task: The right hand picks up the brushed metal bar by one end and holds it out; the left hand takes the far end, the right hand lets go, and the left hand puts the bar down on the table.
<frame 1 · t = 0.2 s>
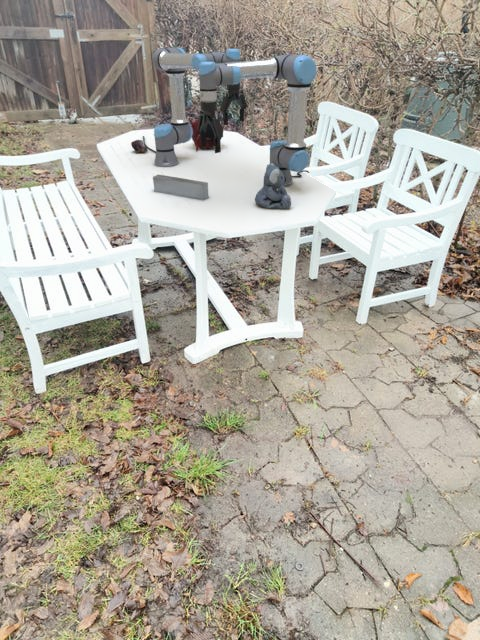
left hand: (233, 123, 259), 29 cm above the table, tool pointing down, fingers open, 13 cm apart
right hand: (210, 149, 216), 27 cm above the table, tool pointing down, fingers open, 13 cm apart
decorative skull: (207, 147, 330), on the table
bar: (181, 194, 245), on the table
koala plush: (271, 204, 231), on the table
rock: (139, 152, 319), on the table
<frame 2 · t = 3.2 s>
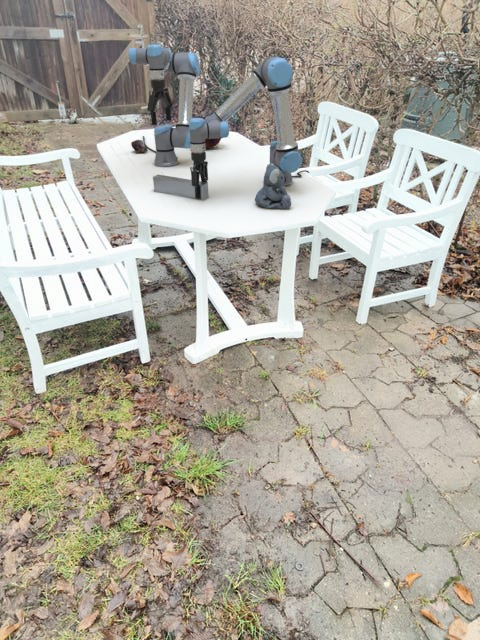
left hand: (161, 122, 247), 32 cm above the table, tool pointing down, fingers open, 13 cm apart
right hand: (200, 196, 240), 1 cm above the table, tool pointing down, fingers closed on bar, 5 cm apart
bar: (181, 194, 245), on the table, touching right hand
everything else where it was.
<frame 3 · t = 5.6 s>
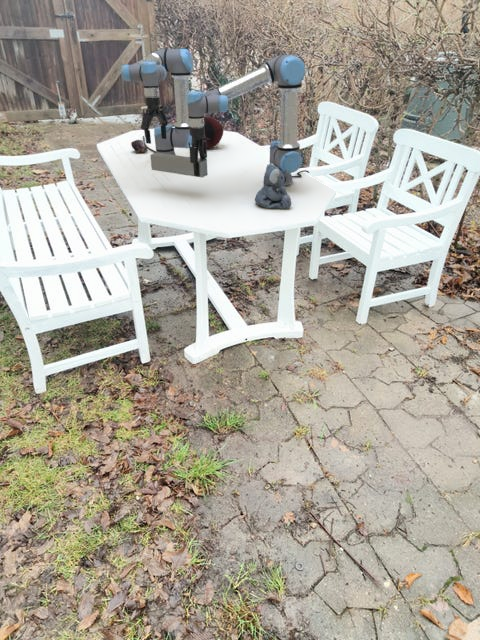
left hand: (156, 141, 239), 25 cm above the table, tool pointing down, fingers open, 13 cm apart
right hand: (199, 174, 233), 12 cm above the table, tool pointing down, fingers closed on bar, 5 cm apart
bar: (179, 172, 239), point 12 cm above the table, touching right hand
everything else where it was.
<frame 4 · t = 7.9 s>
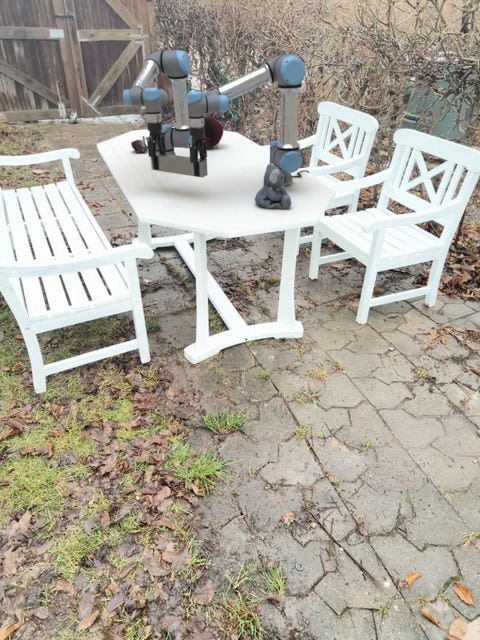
left hand: (159, 168, 243), 12 cm above the table, tool pointing down, fingers closed on bar, 5 cm apart
right hand: (199, 174, 233), 12 cm above the table, tool pointing down, fingers closed on bar, 5 cm apart
bar: (179, 172, 239), point 12 cm above the table, touching left hand, right hand
everything else where it was.
when the right hand's fingers open (12 cm above the table, at t = 8.5 s): bar stays where it is, held by the left hand.
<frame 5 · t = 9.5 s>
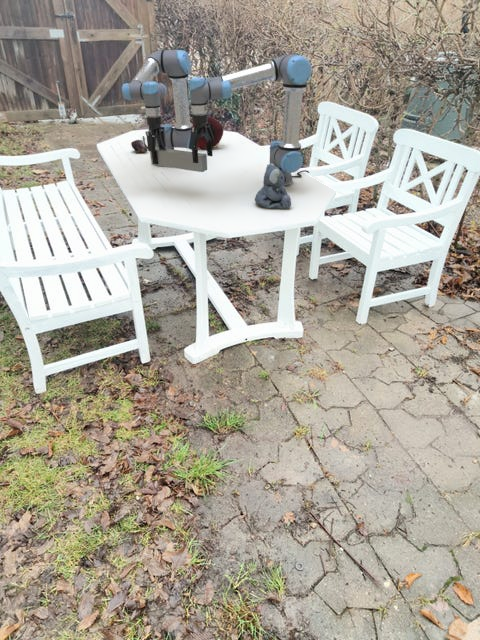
left hand: (158, 162, 242), 15 cm above the table, tool pointing down, fingers closed on bar, 5 cm apart
right hand: (203, 159, 228), 20 cm above the table, tool pointing down, fingers open, 13 cm apart
bar: (178, 167, 237), point 15 cm above the table, touching left hand
everything else where it was.
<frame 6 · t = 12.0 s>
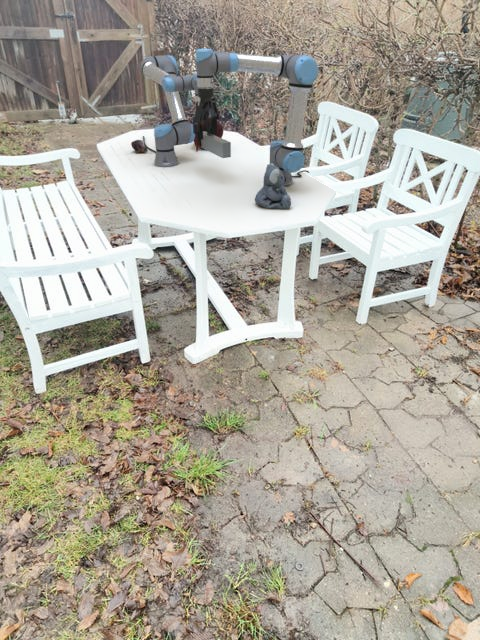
left hand: (204, 145, 272), 15 cm above the table, tool pointing down, fingers closed on bar, 5 cm apart
right hand: (207, 136, 220), 32 cm above the table, tool pointing down, fingers open, 13 cm apart
bar: (213, 151, 263), point 15 cm above the table, touching left hand
everything else where it was.
when the left hand's fingers open (2 cm above the table, at t = 16.2 s): bar drops 2 cm, on the table.
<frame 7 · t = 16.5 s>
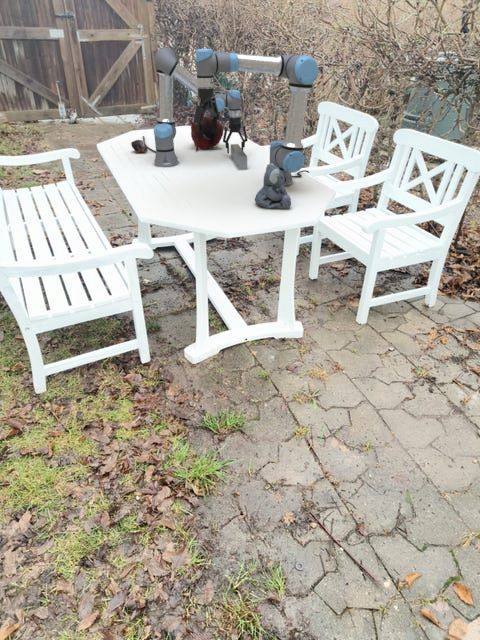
left hand: (235, 152, 304), 3 cm above the table, tool pointing down, fingers open, 9 cm apart
right hand: (207, 136, 220), 32 cm above the table, tool pointing down, fingers open, 13 cm apart
bar: (238, 162, 296), on the table
everything else where it was.
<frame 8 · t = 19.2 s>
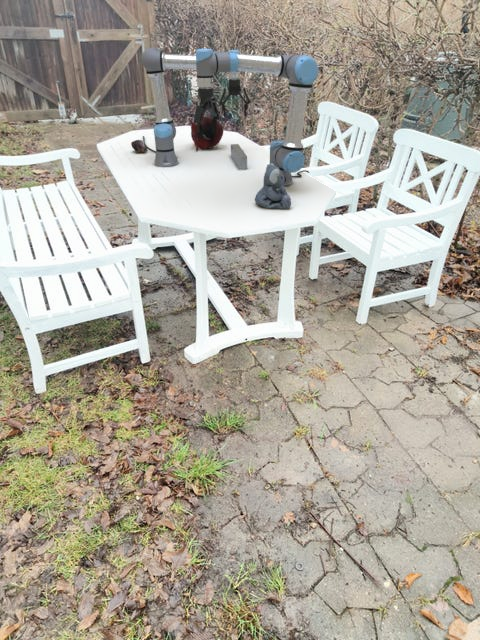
left hand: (234, 115, 291), 26 cm above the table, tool pointing down, fingers open, 13 cm apart
right hand: (207, 136, 220), 32 cm above the table, tool pointing down, fingers open, 13 cm apart
nothing on the table moved.
at the end: bar inside the target area (13.1 cm from its centre), on the table; the left hand is holding nothing; the right hand is holding nothing; bar at rest at the end (0.0 cm/s) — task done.
